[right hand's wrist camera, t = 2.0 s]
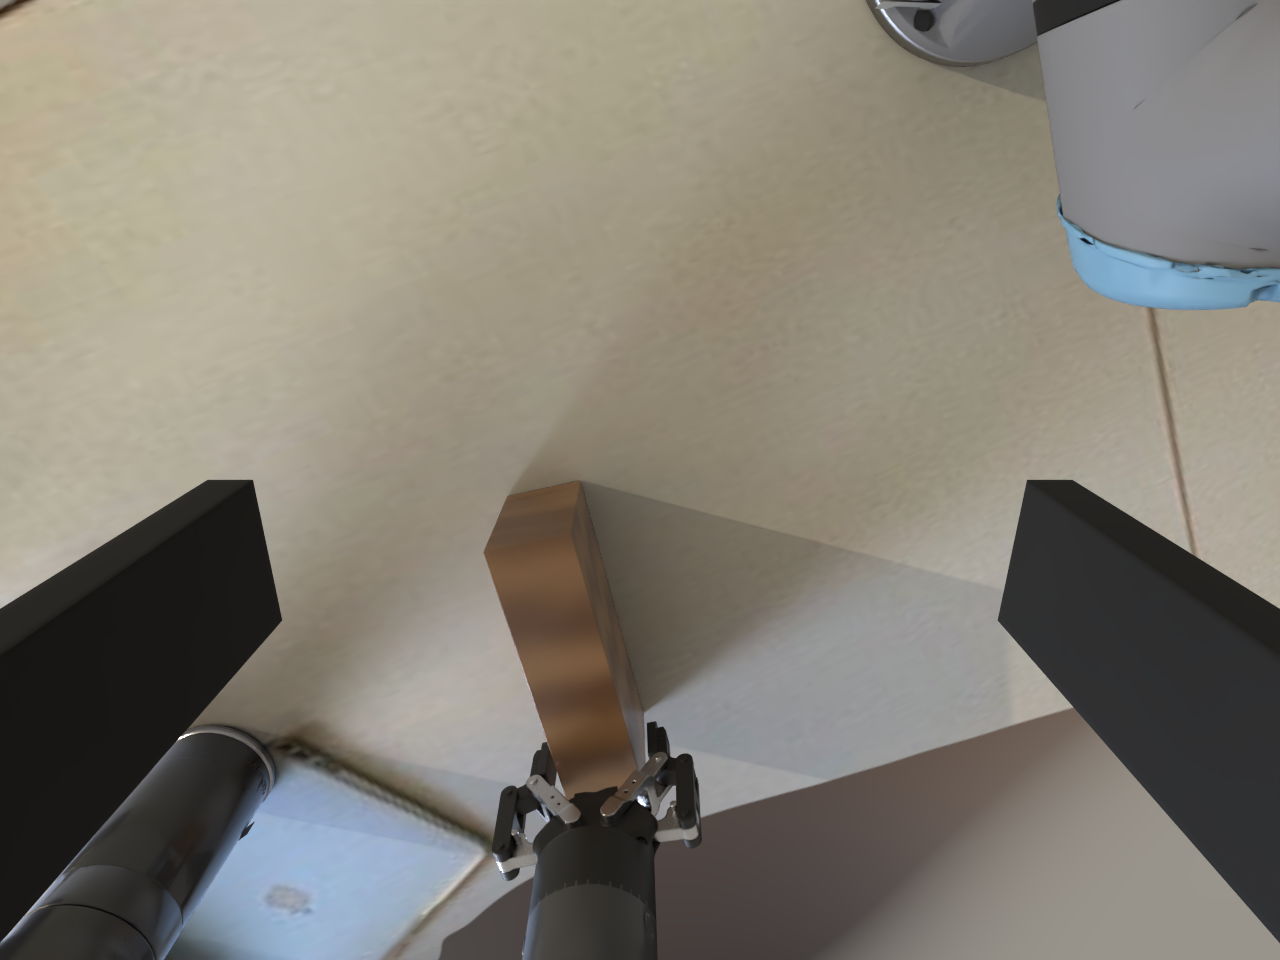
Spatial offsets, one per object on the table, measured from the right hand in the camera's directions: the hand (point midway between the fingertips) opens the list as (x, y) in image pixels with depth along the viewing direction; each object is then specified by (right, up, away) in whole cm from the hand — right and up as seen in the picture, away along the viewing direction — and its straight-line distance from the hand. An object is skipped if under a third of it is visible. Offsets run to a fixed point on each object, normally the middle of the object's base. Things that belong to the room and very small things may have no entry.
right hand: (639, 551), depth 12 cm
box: (-5, -10, +47) cm, 48 cm away
